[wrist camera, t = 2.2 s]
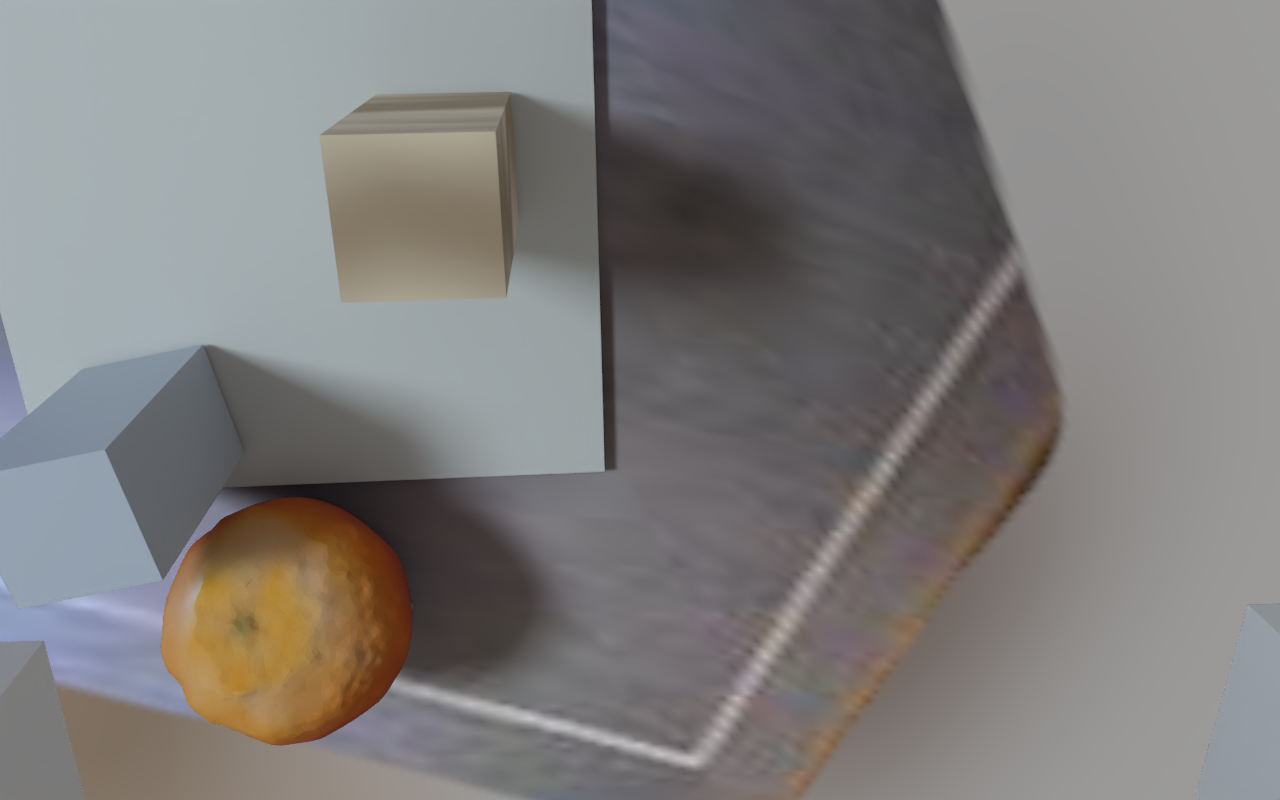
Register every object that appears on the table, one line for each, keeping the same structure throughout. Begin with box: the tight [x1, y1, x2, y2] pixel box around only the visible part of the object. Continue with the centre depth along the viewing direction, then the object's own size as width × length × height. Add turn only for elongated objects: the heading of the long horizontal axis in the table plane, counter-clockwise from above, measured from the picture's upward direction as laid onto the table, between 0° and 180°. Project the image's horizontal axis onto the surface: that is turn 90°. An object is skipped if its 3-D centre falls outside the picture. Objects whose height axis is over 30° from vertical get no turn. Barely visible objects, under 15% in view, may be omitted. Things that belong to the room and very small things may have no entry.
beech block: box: [319, 92, 519, 303], centre depth 28 cm, size 4×4×8 cm
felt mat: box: [0, 0, 605, 488], centre depth 32 cm, size 19×19×1 cm
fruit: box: [161, 497, 415, 745], centre depth 35 cm, size 8×8×8 cm
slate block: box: [0, 345, 244, 609], centre depth 31 cm, size 4×4×8 cm
